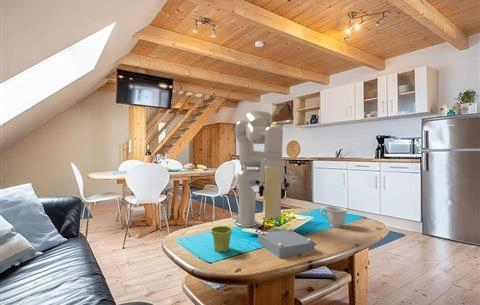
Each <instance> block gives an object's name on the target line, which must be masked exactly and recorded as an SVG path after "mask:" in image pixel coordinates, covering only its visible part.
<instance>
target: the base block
mask: <svg viewBox="0 0 480 305" xmlns="http://www.w3.org/2000/svg"><path fill="white" fill-rule="evenodd" d="M257 243H258V244H260V245H261V246H262V247H263V248H265V249H266V250H268V251H269V252H270V253H272V254H273V255H274V256H276V257H277V258H279V259H281V258H285V257H291V256H296V255H302V254H306V253H308V254H309V253H311V252H312V253H313V252H315V241H313V240H312V238H311V237H310V238H309V237H308V238H307V237H306V236H304V235H301V234H299V233H298V232H295V231H293V230H292V229H291V228H290V227H288V228H287V229H283V230H277V231H270V232H264V231H261V232H260V233H257Z"/></svg>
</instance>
